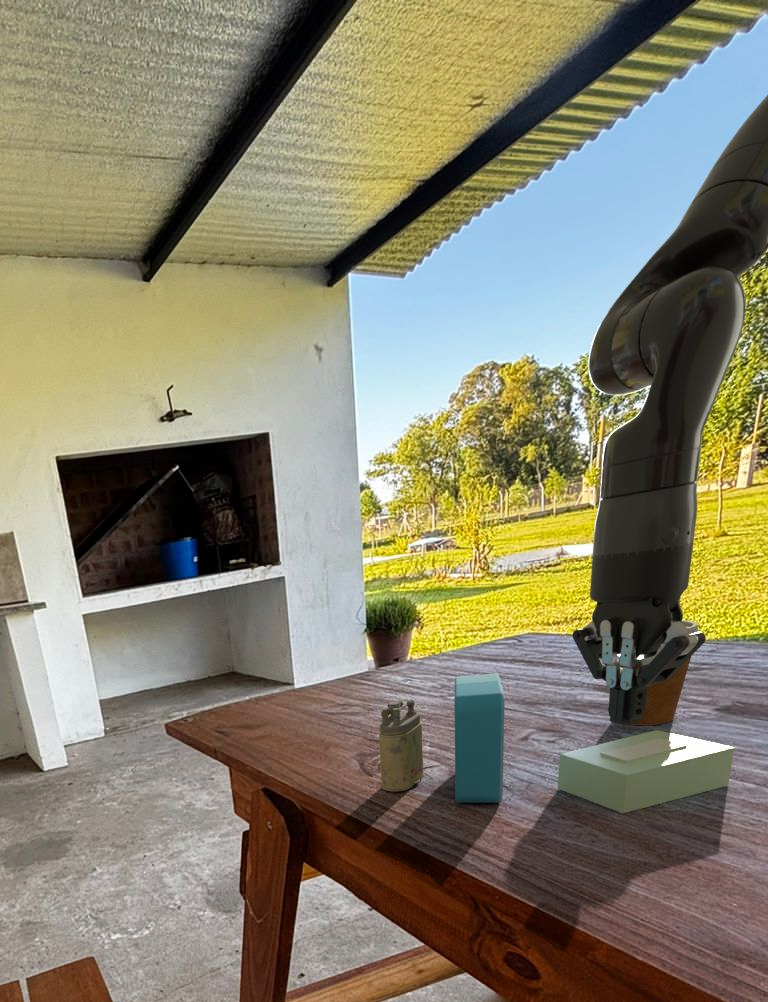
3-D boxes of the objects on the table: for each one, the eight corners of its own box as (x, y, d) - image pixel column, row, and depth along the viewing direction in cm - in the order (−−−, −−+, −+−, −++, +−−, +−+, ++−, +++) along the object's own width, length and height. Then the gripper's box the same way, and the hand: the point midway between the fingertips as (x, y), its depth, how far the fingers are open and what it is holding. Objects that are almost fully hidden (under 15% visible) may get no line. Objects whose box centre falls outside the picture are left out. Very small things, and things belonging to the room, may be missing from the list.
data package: (455, 769, 76) (454, 674, 72) (496, 768, 74) (498, 670, 70) (455, 807, 66) (454, 699, 62) (502, 807, 64) (505, 696, 60)
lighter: (401, 771, 79) (398, 695, 75) (431, 773, 76) (429, 695, 73) (376, 790, 74) (371, 711, 71) (407, 794, 72) (403, 712, 68)
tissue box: (657, 728, 66) (735, 745, 59) (653, 764, 68) (728, 785, 60) (559, 752, 65) (626, 773, 57) (557, 788, 66) (622, 813, 59)
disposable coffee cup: (582, 719, 85) (588, 631, 81) (642, 705, 86) (651, 617, 82) (643, 734, 76) (654, 637, 72) (710, 718, 77) (724, 621, 73)
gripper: (751, 531, 51) (721, 728, 57) (616, 542, 64) (603, 704, 70) (673, 546, 51) (651, 745, 57) (551, 555, 63) (544, 717, 69)
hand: (624, 722), depth 63 cm, fingers closed
